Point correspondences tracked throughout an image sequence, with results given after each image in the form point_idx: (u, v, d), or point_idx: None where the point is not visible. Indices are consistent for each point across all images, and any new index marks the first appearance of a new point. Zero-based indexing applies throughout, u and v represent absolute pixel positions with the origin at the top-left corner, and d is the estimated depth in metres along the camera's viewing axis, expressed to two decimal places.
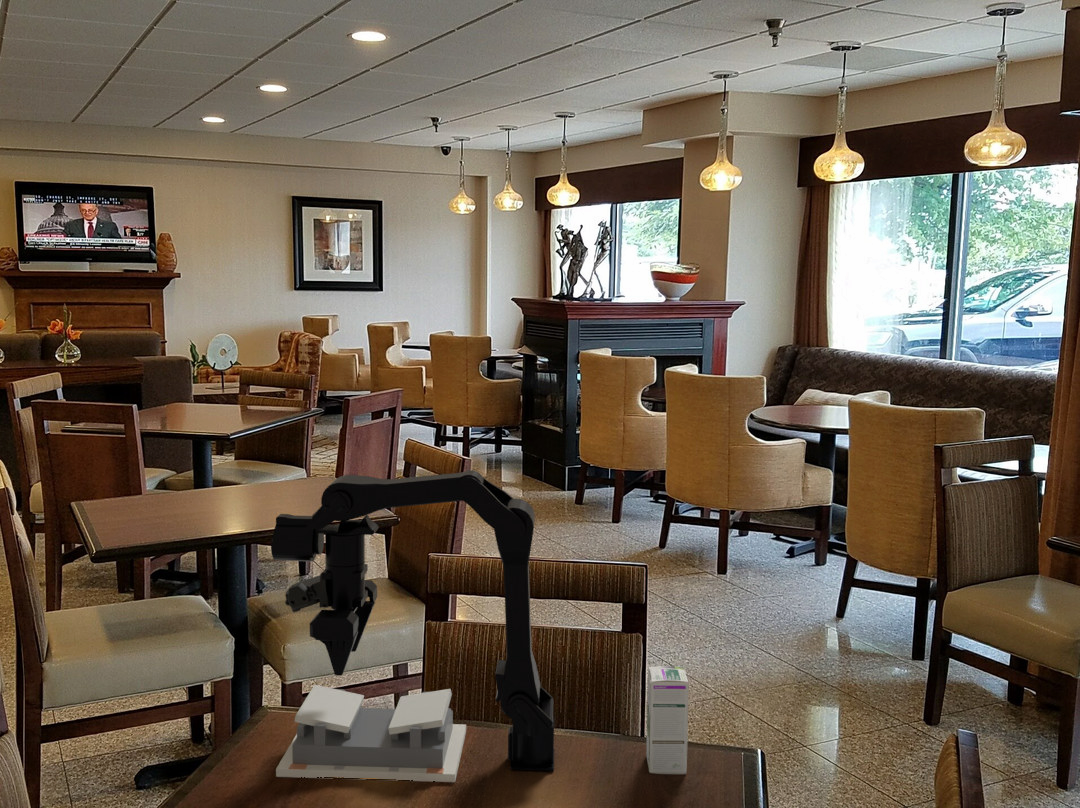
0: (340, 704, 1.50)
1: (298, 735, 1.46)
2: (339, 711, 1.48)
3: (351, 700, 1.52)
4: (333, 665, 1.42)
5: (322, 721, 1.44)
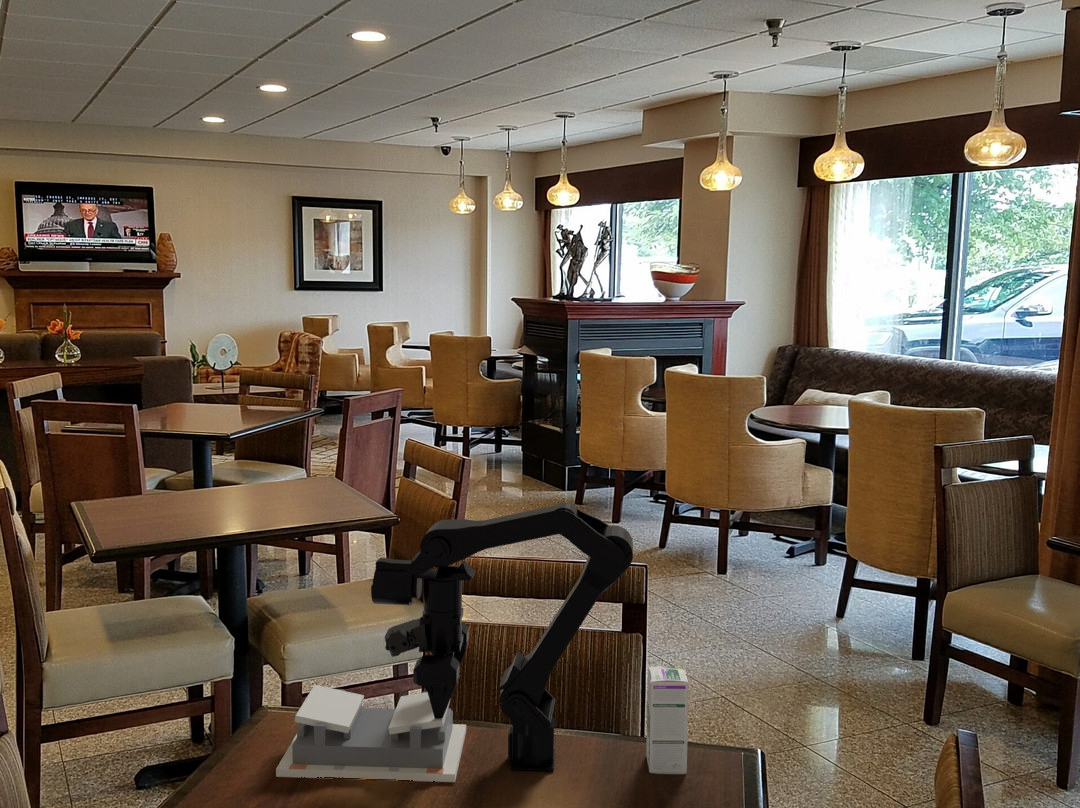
0: (340, 704, 1.50)
1: (298, 735, 1.46)
2: (339, 711, 1.48)
3: (351, 700, 1.52)
4: (433, 710, 1.44)
5: (322, 721, 1.44)
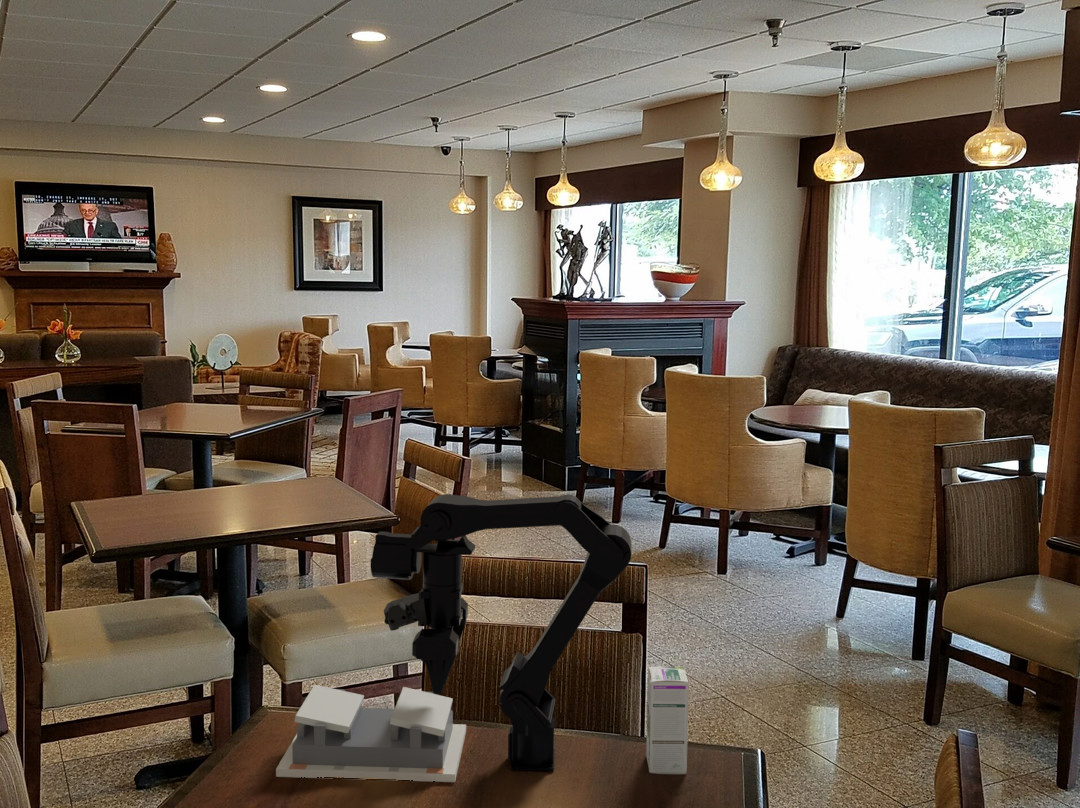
0: (340, 704, 1.50)
1: (298, 735, 1.46)
2: (339, 711, 1.48)
3: (351, 700, 1.52)
4: (432, 684, 1.43)
5: (322, 721, 1.44)
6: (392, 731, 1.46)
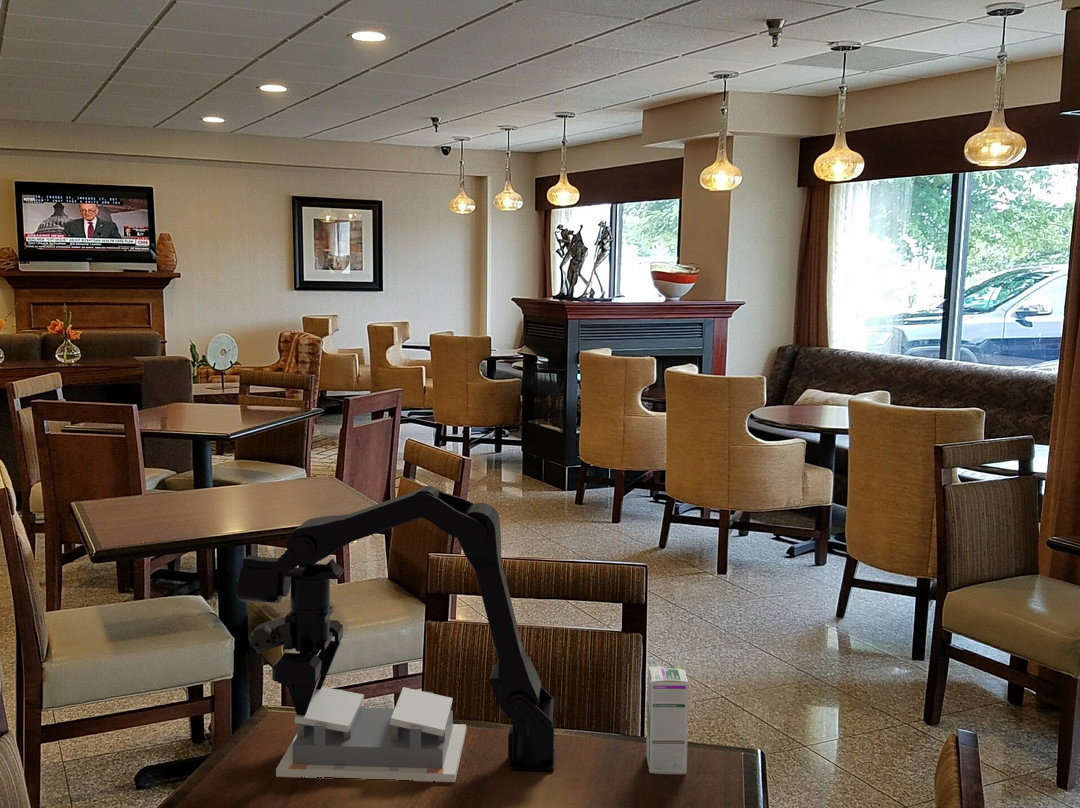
0: (340, 704, 1.50)
1: (298, 735, 1.46)
2: (339, 711, 1.48)
3: (351, 699, 1.52)
4: (296, 707, 1.44)
5: (322, 721, 1.44)
6: (392, 731, 1.46)
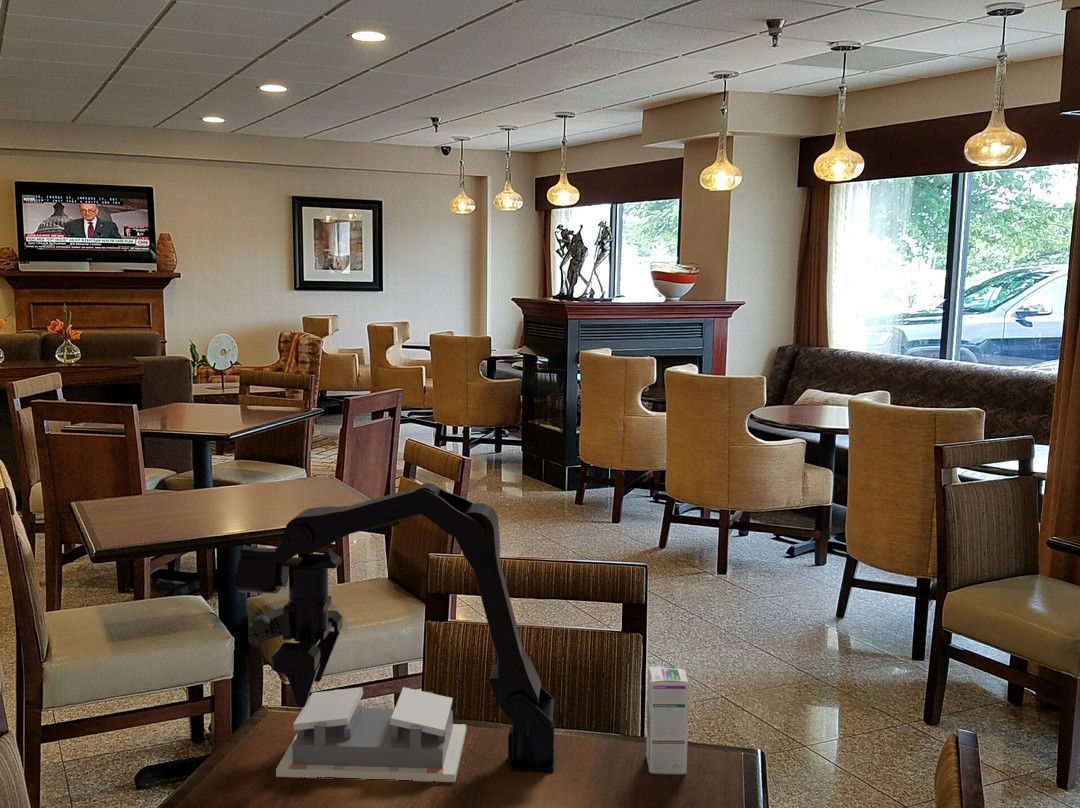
0: (338, 701, 1.50)
1: (298, 735, 1.46)
2: (337, 708, 1.48)
3: (349, 695, 1.52)
4: (295, 697, 1.44)
5: (320, 721, 1.44)
6: (392, 731, 1.46)
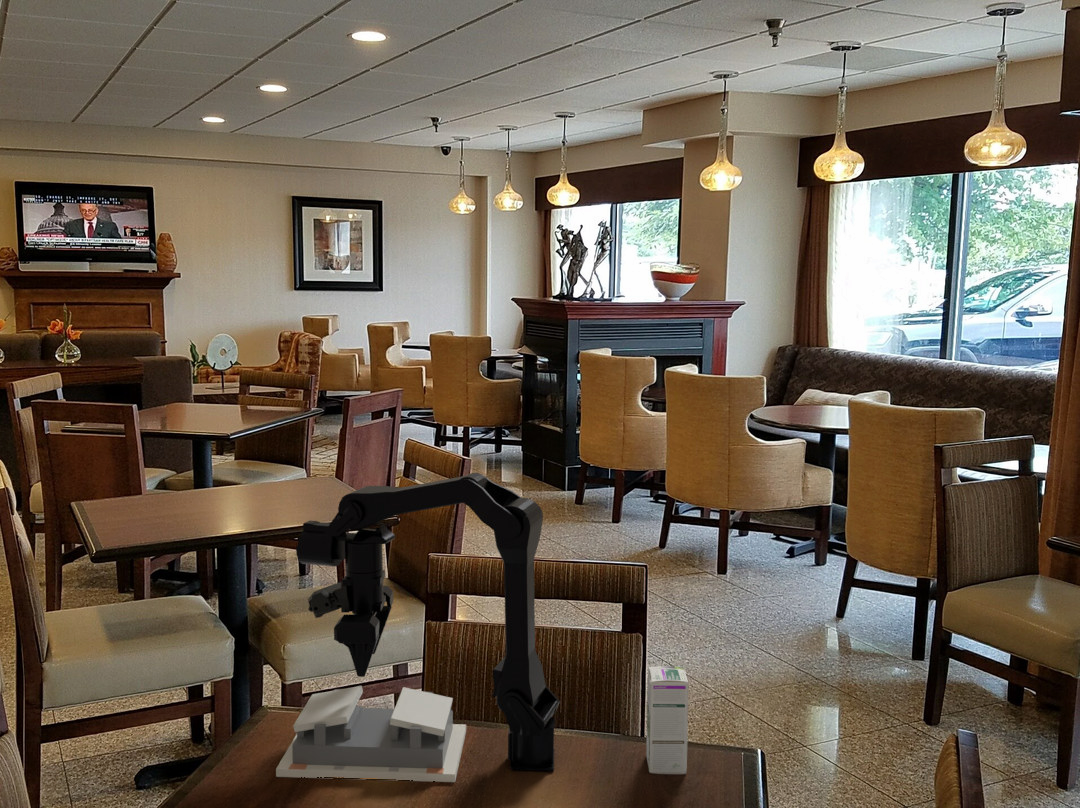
0: (338, 701, 1.50)
1: (298, 735, 1.46)
2: (336, 707, 1.48)
3: (348, 694, 1.52)
4: (356, 667, 1.50)
5: (319, 721, 1.44)
6: (392, 731, 1.46)
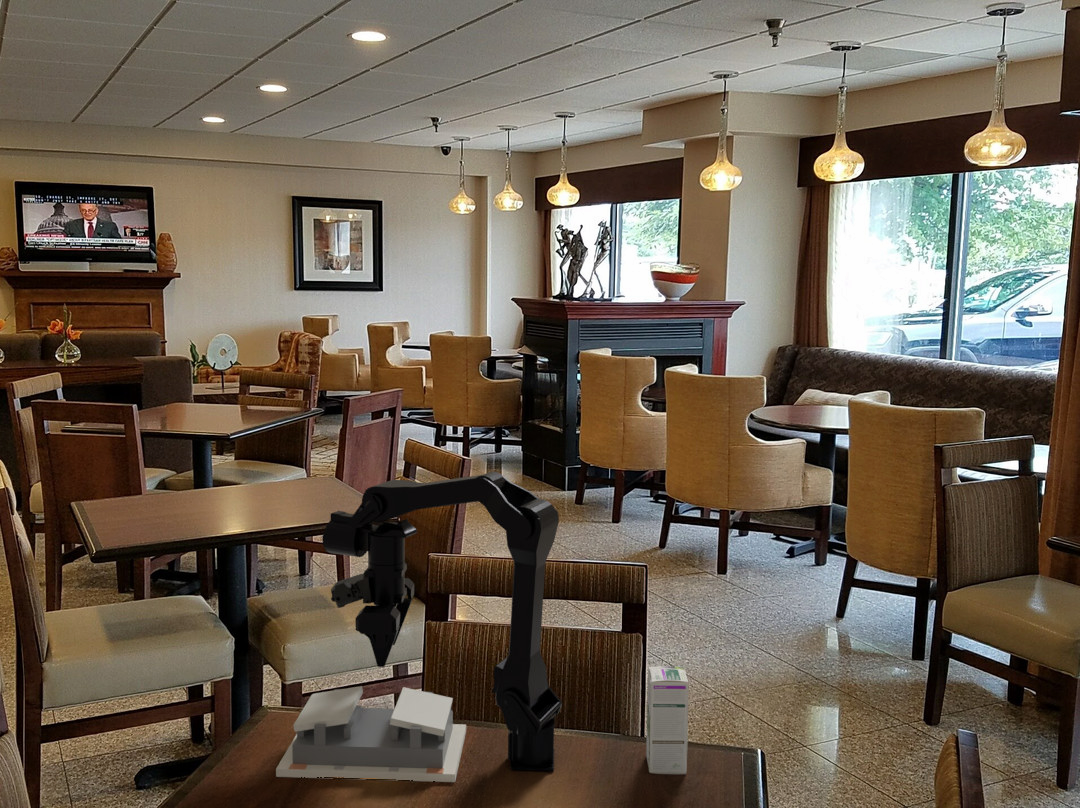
0: (338, 701, 1.50)
1: (298, 735, 1.46)
2: (337, 707, 1.48)
3: (349, 694, 1.52)
4: (376, 657, 1.52)
5: (320, 721, 1.44)
6: (392, 731, 1.46)
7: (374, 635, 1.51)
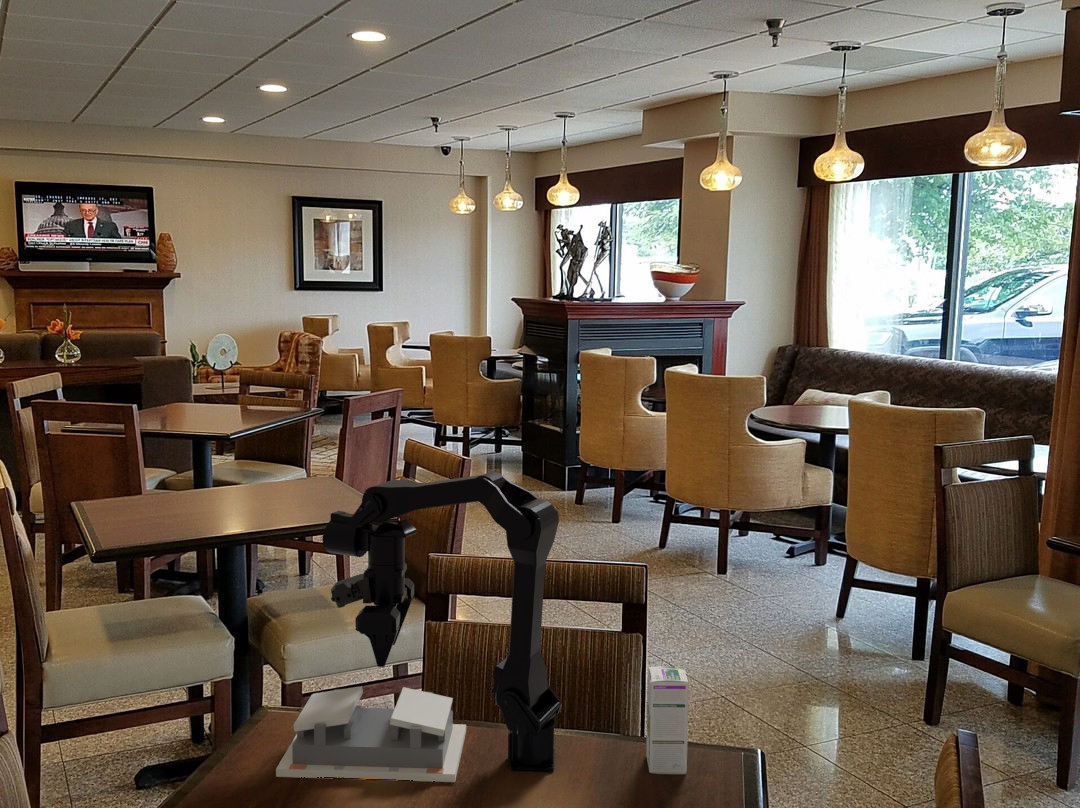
0: (338, 701, 1.50)
1: (298, 735, 1.46)
2: (337, 707, 1.48)
3: (349, 694, 1.52)
4: (376, 657, 1.52)
5: (320, 721, 1.44)
6: (392, 731, 1.46)
7: (374, 635, 1.51)
